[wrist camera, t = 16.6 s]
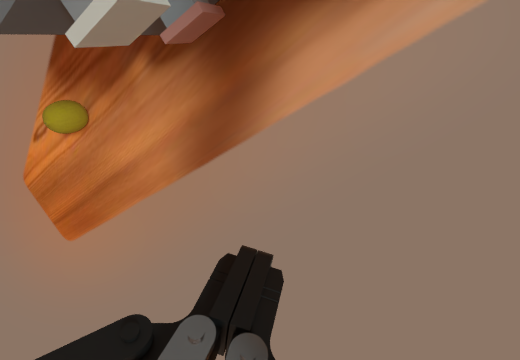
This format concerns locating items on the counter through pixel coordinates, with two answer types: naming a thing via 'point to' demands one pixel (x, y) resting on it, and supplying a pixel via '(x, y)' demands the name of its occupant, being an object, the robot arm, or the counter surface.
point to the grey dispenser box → (48, 18)
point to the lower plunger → (189, 20)
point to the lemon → (65, 116)
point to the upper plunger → (111, 20)
